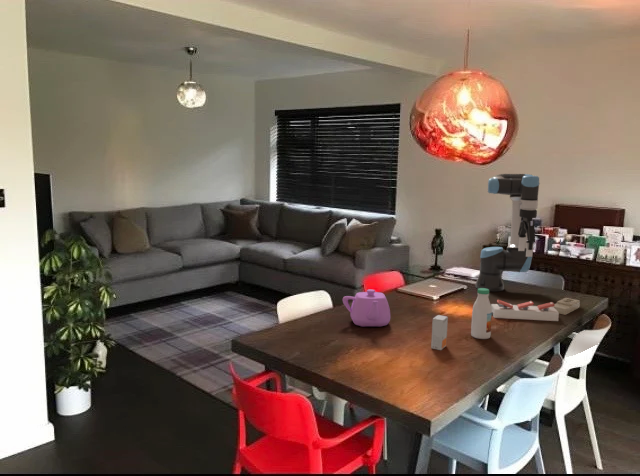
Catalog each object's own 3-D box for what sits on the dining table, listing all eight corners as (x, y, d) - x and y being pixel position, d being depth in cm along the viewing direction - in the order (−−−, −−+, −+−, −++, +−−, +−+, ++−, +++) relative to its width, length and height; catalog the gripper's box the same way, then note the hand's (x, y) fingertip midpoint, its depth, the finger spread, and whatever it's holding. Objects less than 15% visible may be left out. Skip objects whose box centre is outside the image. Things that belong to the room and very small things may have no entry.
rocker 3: (537, 307, 244) (537, 305, 244) (552, 304, 243) (552, 301, 243) (539, 309, 241) (538, 307, 241) (554, 306, 239) (554, 303, 239)
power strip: (475, 311, 253) (476, 300, 252) (552, 315, 248) (553, 304, 247) (478, 316, 244) (479, 306, 243) (558, 321, 239) (559, 310, 238)
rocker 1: (496, 301, 246) (497, 299, 246) (510, 306, 246) (511, 304, 246) (498, 303, 243) (499, 301, 243) (512, 308, 242) (513, 306, 242)
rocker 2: (517, 306, 245) (516, 304, 245) (532, 303, 244) (531, 300, 244) (518, 308, 242) (518, 306, 242) (534, 305, 241) (533, 302, 241)
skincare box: (441, 350, 201) (442, 320, 199) (430, 348, 203) (432, 318, 201) (446, 346, 206) (448, 316, 204) (436, 343, 208) (437, 314, 206)
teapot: (340, 317, 241) (341, 285, 239) (386, 317, 242) (387, 285, 240) (344, 334, 219) (345, 298, 216) (395, 334, 219) (396, 298, 217)
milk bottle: (480, 340, 212) (483, 292, 209) (466, 334, 219) (469, 288, 216) (494, 337, 216) (497, 290, 213) (480, 332, 223) (483, 286, 220)
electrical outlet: (550, 304, 253) (565, 297, 266) (550, 312, 254) (564, 305, 266) (566, 307, 248) (580, 300, 261) (565, 315, 249) (579, 308, 261)
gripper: (513, 205, 259) (510, 248, 263) (527, 212, 235) (524, 258, 238) (529, 206, 258) (526, 248, 262) (545, 212, 234) (541, 259, 238)
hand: (525, 253), depth 250 cm, fingers open, 13 cm apart
